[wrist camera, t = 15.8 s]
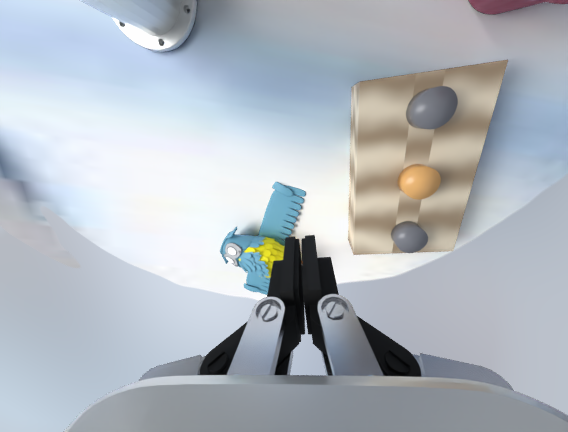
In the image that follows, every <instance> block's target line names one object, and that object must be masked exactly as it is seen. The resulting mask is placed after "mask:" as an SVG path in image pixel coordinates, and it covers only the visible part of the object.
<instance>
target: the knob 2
mask: <svg viewBox="0 0 568 432" xmlns="http://www.w3.org/2000/svg"><path fill="white" fill-rule="evenodd" d="M457 104H458V99H457V95H456V93H455V91H454V90H453V89H451V88H450V87H447V86H439V87H434V88H430V89H425V90H423V91H421V92H419V93H417V94H416V95H415V96H414V97H413V98H412V99H411V101H410V102H409V104H408V106H407V110H406V118H407V121H408V123H409V124H410V125H411V126H413V127H415V128H420V129H436V128H439V127H441V126H443V125H444V124H446V123H447V122H448V121H449V120H450V119H451V118H452V116H453V115H454V113H455V111H456V108H457Z"/></svg>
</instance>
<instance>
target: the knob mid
mask: <svg viewBox="0 0 568 432" xmlns="http://www.w3.org/2000/svg"><path fill="white" fill-rule="evenodd" d="M440 183H441V177H440V174H439V173H438V172H437V171H436V170H435V169H432V168H430V167H427V166H425V165H422V164H413V165H410V166H408V167H407V168H405V169H403V171H402V172H401V173H400V175H399V177H398V187H399V189H400V190H401V191H402V192H404V193H405V194H406V195H408V196H409V197H410V198H412V199H417V200H420V199H425V198H428V197H430V196H431V195H433V194H434V193H435V192H436V191H437V189H438V188H439V186H440Z"/></svg>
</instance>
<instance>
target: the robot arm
mask: <svg viewBox="0 0 568 432" xmlns="http://www.w3.org/2000/svg"><path fill="white" fill-rule="evenodd" d="M80 1H82V2H83V3H85V4H87V5H89V6H91V7H93V8H95V9H97V10H99V11H101V12H103V13H105V14H107V15H109V16H111V17H112V18H113V20H114V22H115V23H116V24H117V25H118V27H119V28H120V29H121V31H122V32H123V33H124V34H125V35H126V36H127V37H128V38H130V39H131V40H132V41H134V42H135V43H136V44H138V45H140V46H142V47H144V48H147V49H149V50H152V51H157V52H166V51H171V50H173V49H176V48H177V47H179V46H180V45H181V44H183V42H184V41H185V40H186V39H187V37H188V36H189V34H190V32H191V30H192V28H193V25H194V21H195V17H196V9H197V0H80ZM189 10H190V12H189ZM304 305H305V313H306V320H307V328H308V334H312V338H313V344H314V345H315V346H316V347H317V348H318V349H319V350H321V353H322V358H323V362H324V367H325V371H326V375H327V376H313V375H312V376H309V375H300V376H299V375H290V371H291V365H292V358H293V349H294V348H295V347H296V346H297V345H298V344H299V342H301V334H305V318H304ZM63 432H568V415H566V414H564V413H563V412H561V411H559V410H557V409H555V408H553V407H551V406H549V405H547V404H545V403H543V402H541V401H539V400H536V399H534V398H531V397H529V396H526V395H524V394H521V393H519V392H516V391H514V390H513V389H512V387H511V386H510V384H509V383H508V382H507V381H505V380H504V379H503V378H502V377H501V376H500V375H498V374H497V373H495V372H493V371H492V370H490V369H487V368H485V367H482V366H477V365H473V364H469V363H464V362H459V361H454V360H450V359H445V358H440V357H436V356H431V355H426V354H422V353H420V356H418V355H413V354H411V353H410V352H409V351H408V350H406V349H405V348H404V347H402V346H401V345H399V344H398V343H396V342H395V341H393V340H392V339H390V338H389V337H388V336H386V335H385V334H383V333H381V332H380V331H379V330H377V329H376V328H374V327H373V326H371V325H370V324H368V323H367V322H365V321H364V320H362V319H361V318H359V317H358V316H356V313H355V311H354V309H353V307H352V305H351V303H350V302H349V301H348V300H347V299H346V298H345V297H343V296H341V295H339V294H338V290H337V285H336V280H335V275H334V271H333V266H332V261H331V257H324V258H317V251H316V243H315V235H310V236H305V238H304V239H302V261H301V252H300V244H299V239H295V237H286V238H285V247H284V256H283V260H276V261H273V265H272V271H271V277H270V283H269V289H268V295H267V297H266V298H263V299H261V300H260V301H258V302H257V303H256V304H255V306H254V308H253V310H252V313H251V315H250V318H249V320H248V322H247V323H245V324H244V325H243V326H241V327H240V328H239V329H238V330H236V331H235V332H234V333H233V334H231V335H230V336H229V337H228V338H226V339H225V340H224V341H223V342H221V343H220V344H219V345H218V346H216V347H215V348H214V349H213V350H211V351H210V352H209V353H208V354H207V355H206V356H204V357H202V356H201V355H198V356H194V357H190V358H186V359H182V360H179V361H175V362H171V363H167V364H163V365H159V366H156V367H154V368H151V369H150V370H149V371H147V372H146V373H145V374H144V375H143V376H142V377H141V378H140V379H139V381H137V382H134V383H131V384H128V385H126V386H123V387H121V388H118V389H116V390H114V391H112V392H110V393H108V394H106V395H104V396H102V397H101V398H99V399H97V400H96V401H94V402H93V403H92V404H90V405H89V406H88V407H87V408H85V409H84V410H83V411H82V412H81V413H80V414H79V415H78V416H77V417H76V418H75V419H74V420H73V421H72V422H71V424H69V426H68V427H67V428H66V429H65V430H64V431H63Z"/></svg>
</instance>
